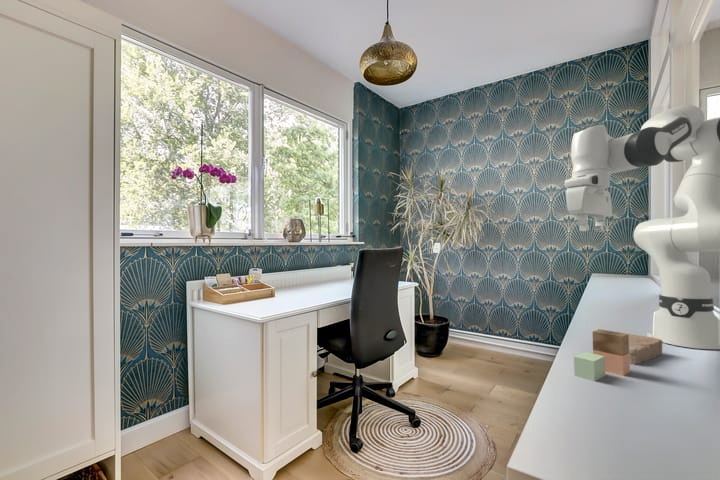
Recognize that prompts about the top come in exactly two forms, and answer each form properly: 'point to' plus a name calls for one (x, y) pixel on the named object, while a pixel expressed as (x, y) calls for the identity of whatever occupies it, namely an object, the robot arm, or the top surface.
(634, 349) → the brick
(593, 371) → the sage block
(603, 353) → the terracotta block
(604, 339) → the walnut block
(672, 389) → the top surface
